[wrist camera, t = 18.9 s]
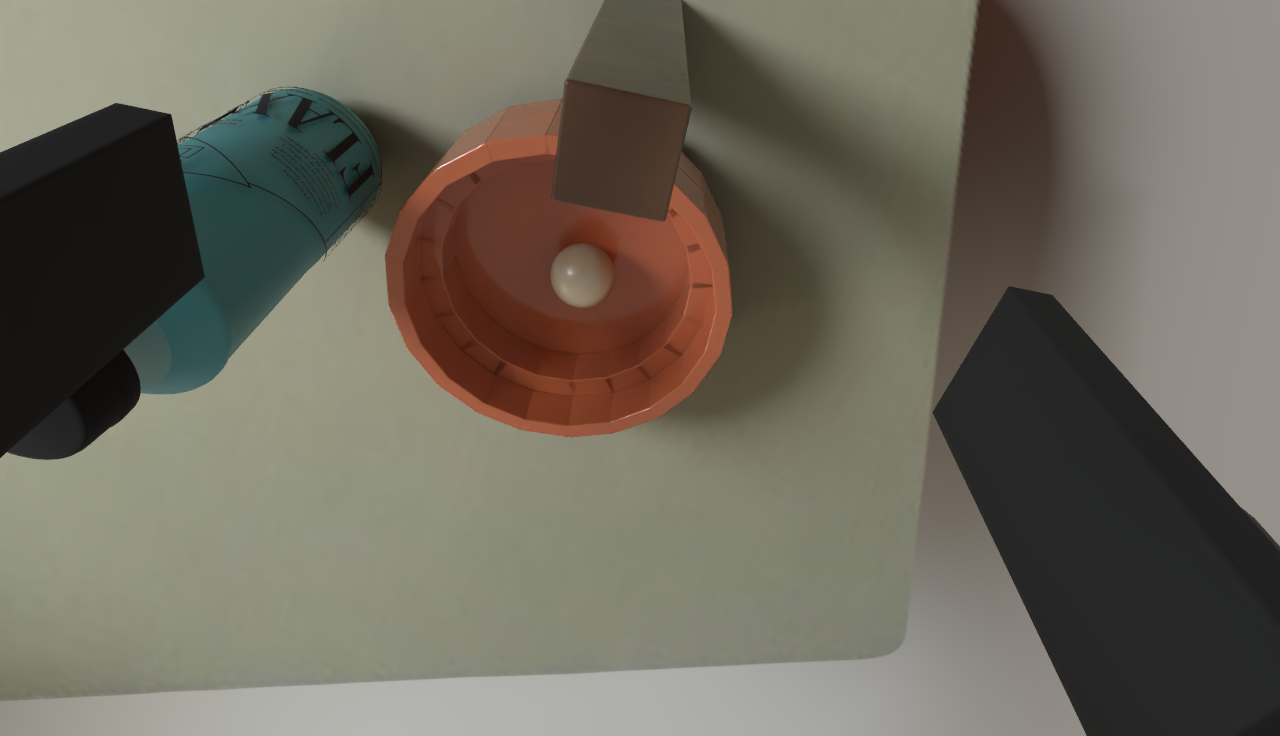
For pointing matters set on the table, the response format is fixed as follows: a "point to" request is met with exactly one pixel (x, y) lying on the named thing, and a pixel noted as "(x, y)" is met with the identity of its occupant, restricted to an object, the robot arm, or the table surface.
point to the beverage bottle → (233, 250)
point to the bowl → (524, 296)
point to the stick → (625, 111)
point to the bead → (582, 275)
